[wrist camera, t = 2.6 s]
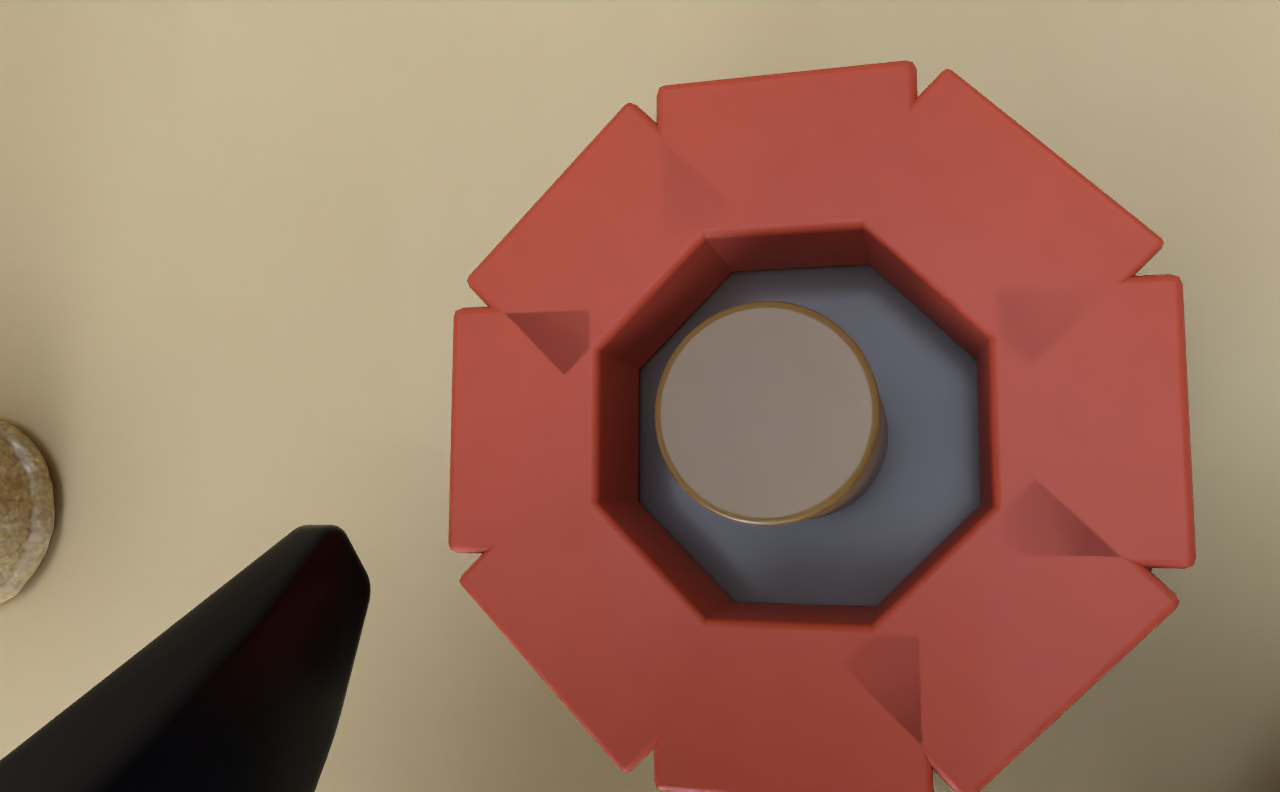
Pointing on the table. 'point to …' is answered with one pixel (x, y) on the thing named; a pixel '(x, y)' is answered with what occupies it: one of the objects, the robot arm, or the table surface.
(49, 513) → the sprinkles bottle
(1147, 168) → the table surface
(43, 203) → the table surface
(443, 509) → the table surface
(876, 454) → the ring stand
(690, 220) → the ring
